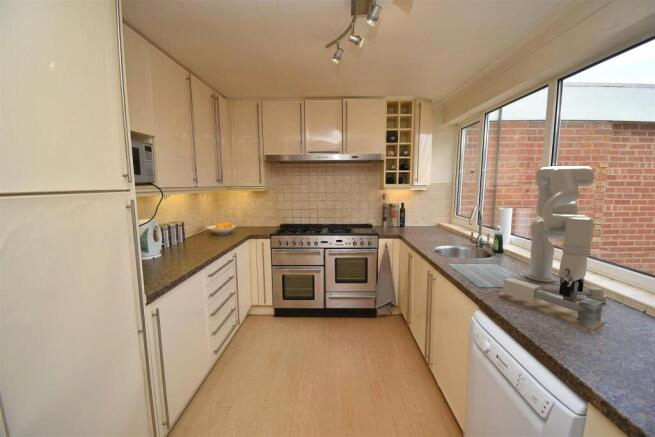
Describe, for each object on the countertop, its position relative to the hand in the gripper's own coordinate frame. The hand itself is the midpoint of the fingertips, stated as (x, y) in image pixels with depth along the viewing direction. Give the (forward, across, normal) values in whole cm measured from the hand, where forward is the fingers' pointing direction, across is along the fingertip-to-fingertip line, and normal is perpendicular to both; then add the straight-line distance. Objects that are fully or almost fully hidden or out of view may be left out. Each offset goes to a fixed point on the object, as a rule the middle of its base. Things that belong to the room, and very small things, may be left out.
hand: (570, 293), depth 103 cm
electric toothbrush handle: (+10, -21, -9) cm, 25 cm away
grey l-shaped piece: (+6, 0, -4) cm, 7 cm away
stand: (+9, 0, -8) cm, 12 cm away
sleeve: (+8, 0, -17) cm, 19 cm away
